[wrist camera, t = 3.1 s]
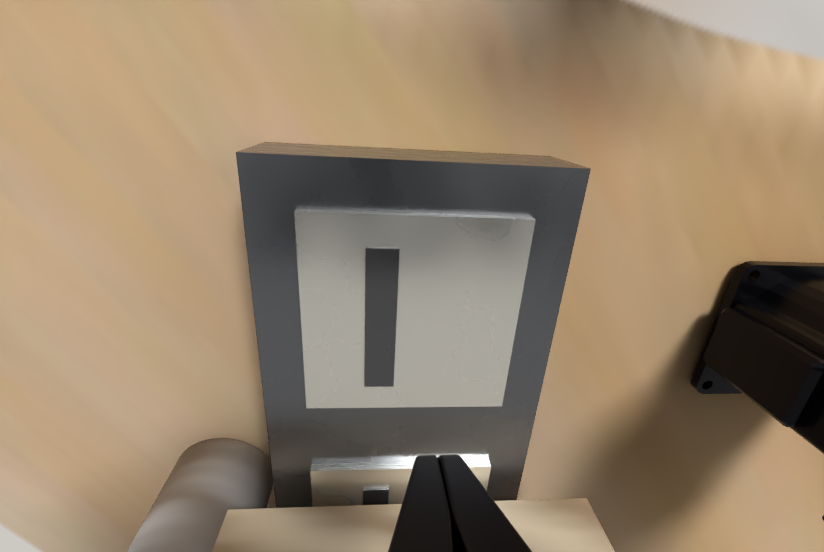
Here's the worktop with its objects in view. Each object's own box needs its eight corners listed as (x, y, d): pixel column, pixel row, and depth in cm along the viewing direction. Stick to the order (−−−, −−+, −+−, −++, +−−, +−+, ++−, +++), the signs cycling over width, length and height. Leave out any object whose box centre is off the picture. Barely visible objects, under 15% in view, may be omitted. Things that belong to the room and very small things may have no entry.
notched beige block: (185, 507, 19) (100, 685, 14) (168, 439, 18) (62, 608, 12) (536, 496, 21) (598, 650, 15) (552, 432, 19) (629, 578, 13)
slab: (550, 156, 14) (597, 170, 11) (482, 528, 22) (498, 597, 19) (265, 142, 13) (230, 153, 10) (298, 535, 21) (284, 609, 18)
